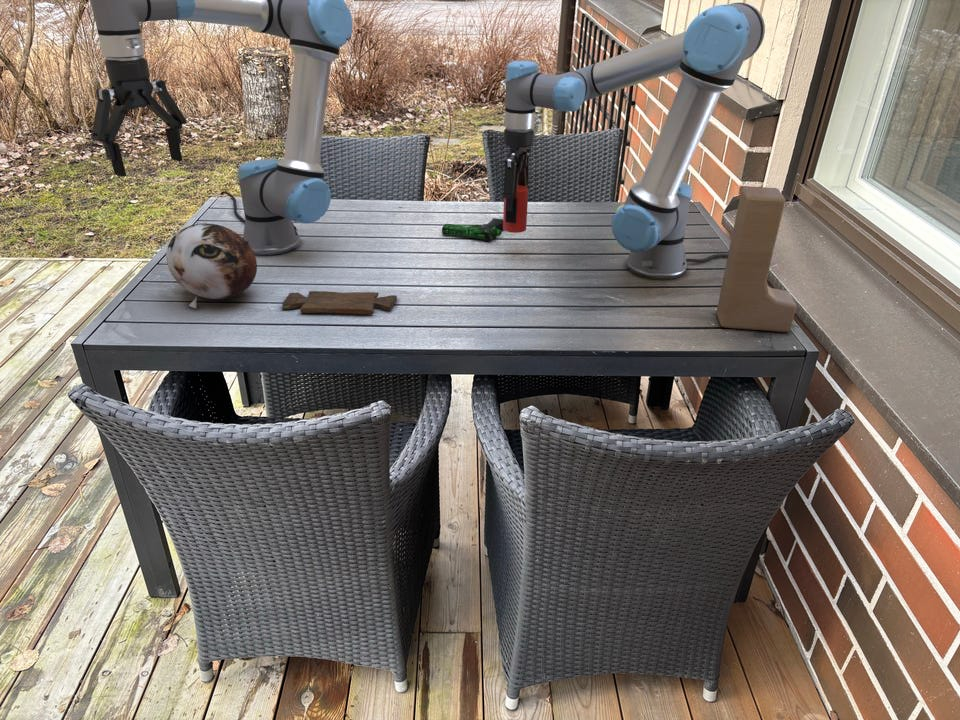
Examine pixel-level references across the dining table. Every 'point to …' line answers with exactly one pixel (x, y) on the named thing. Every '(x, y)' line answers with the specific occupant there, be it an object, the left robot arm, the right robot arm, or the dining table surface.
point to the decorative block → (754, 266)
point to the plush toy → (211, 261)
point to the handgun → (476, 230)
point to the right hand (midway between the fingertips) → (515, 217)
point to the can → (518, 212)
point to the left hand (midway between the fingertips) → (149, 167)
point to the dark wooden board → (338, 302)
